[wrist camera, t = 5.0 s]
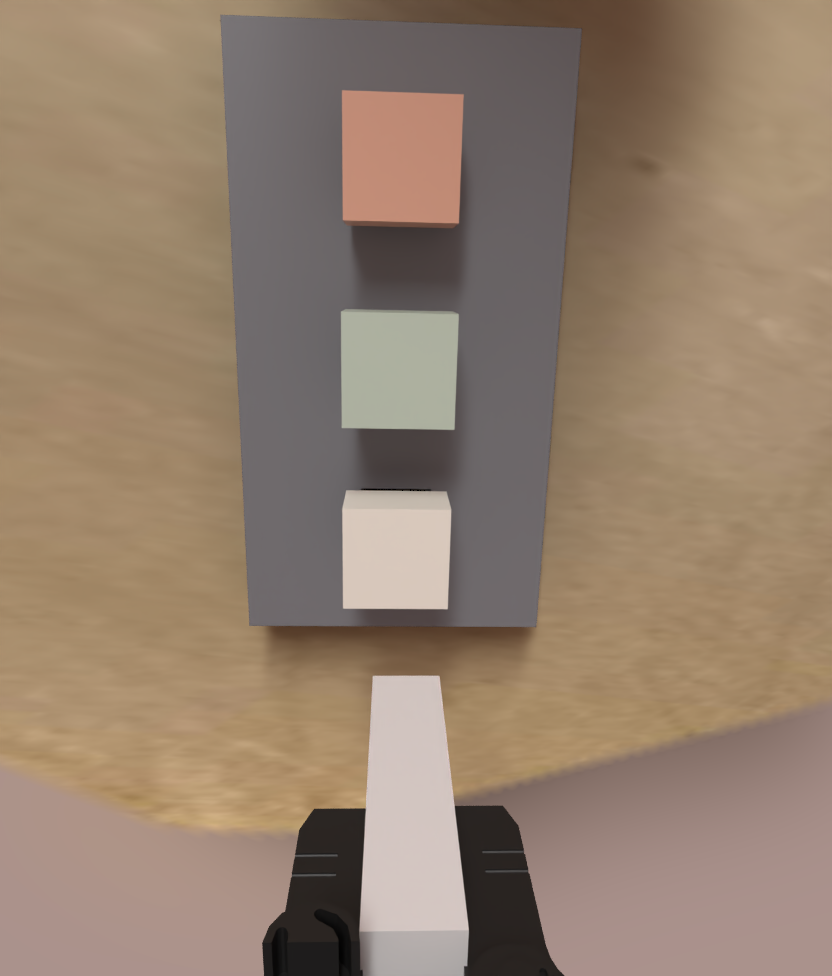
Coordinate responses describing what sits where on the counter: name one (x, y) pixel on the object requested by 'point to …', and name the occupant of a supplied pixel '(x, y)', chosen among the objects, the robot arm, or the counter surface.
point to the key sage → (398, 369)
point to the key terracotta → (401, 158)
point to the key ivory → (396, 549)
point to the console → (396, 303)
